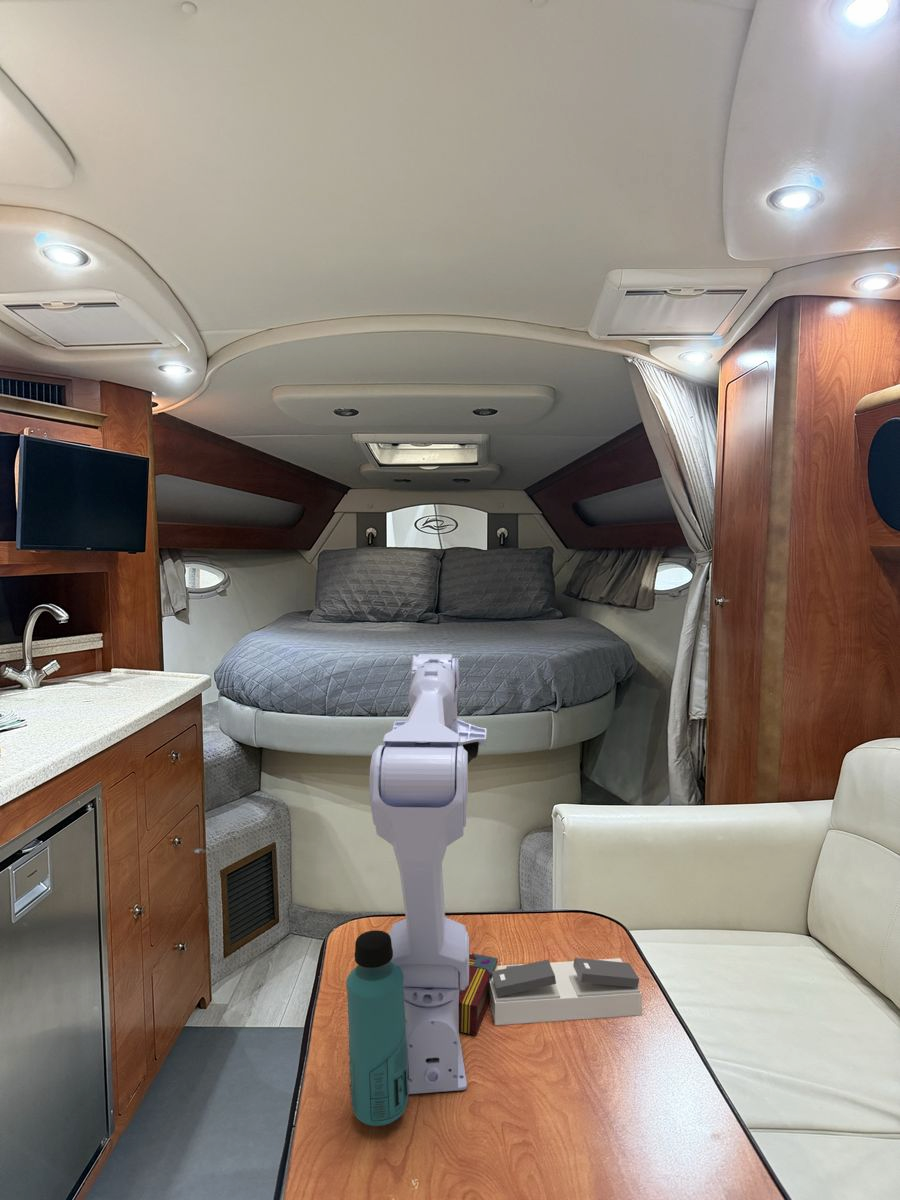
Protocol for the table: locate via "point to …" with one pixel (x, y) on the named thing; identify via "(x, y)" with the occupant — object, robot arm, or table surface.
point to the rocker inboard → (523, 977)
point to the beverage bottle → (377, 1032)
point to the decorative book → (475, 993)
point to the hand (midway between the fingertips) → (441, 761)
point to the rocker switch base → (564, 999)
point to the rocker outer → (605, 972)
